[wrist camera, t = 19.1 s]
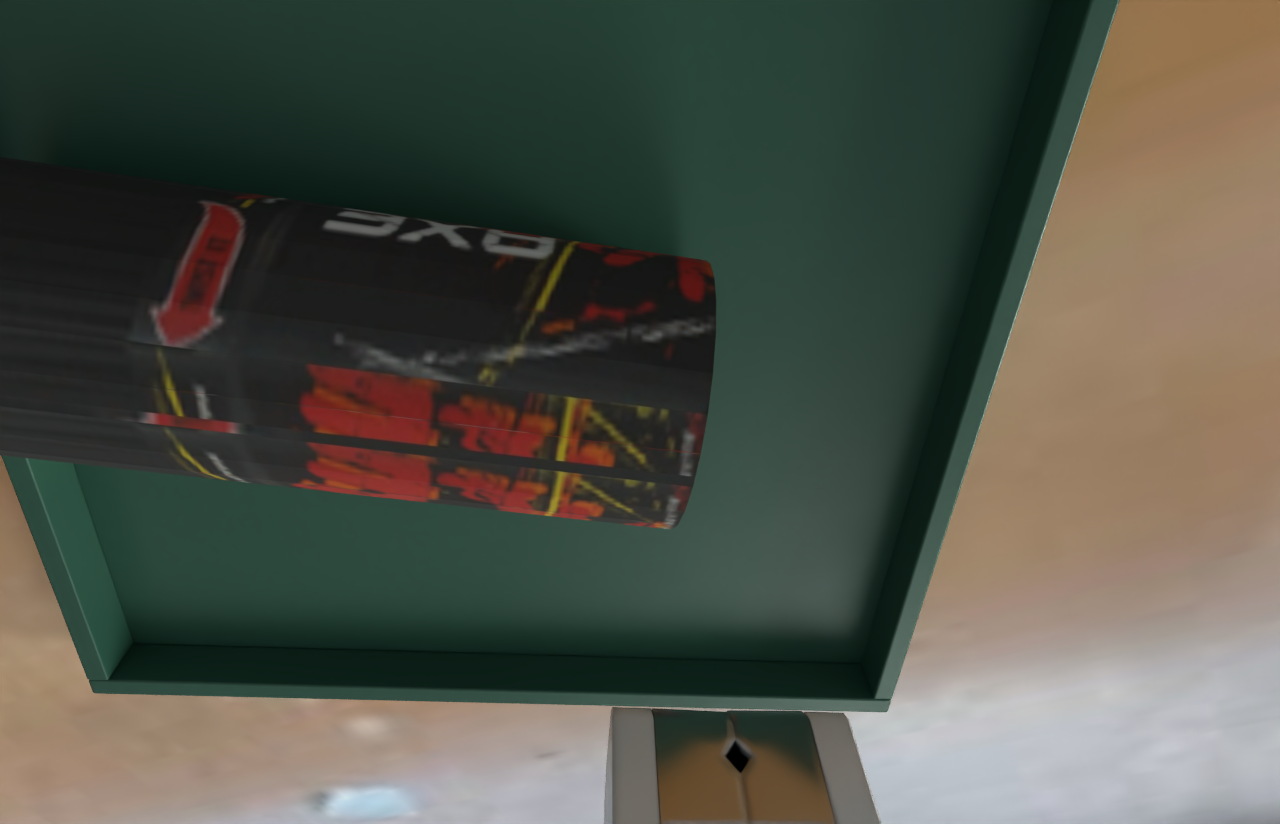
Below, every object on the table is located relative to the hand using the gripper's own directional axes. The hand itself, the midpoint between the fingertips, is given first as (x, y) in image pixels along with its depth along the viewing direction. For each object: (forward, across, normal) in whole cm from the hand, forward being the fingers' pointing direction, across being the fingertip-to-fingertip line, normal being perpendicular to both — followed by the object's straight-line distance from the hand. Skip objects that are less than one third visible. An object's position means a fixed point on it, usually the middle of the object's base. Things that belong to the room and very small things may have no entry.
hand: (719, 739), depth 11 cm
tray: (+12, +4, 0) cm, 13 cm away
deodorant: (+9, 0, 0) cm, 9 cm away
